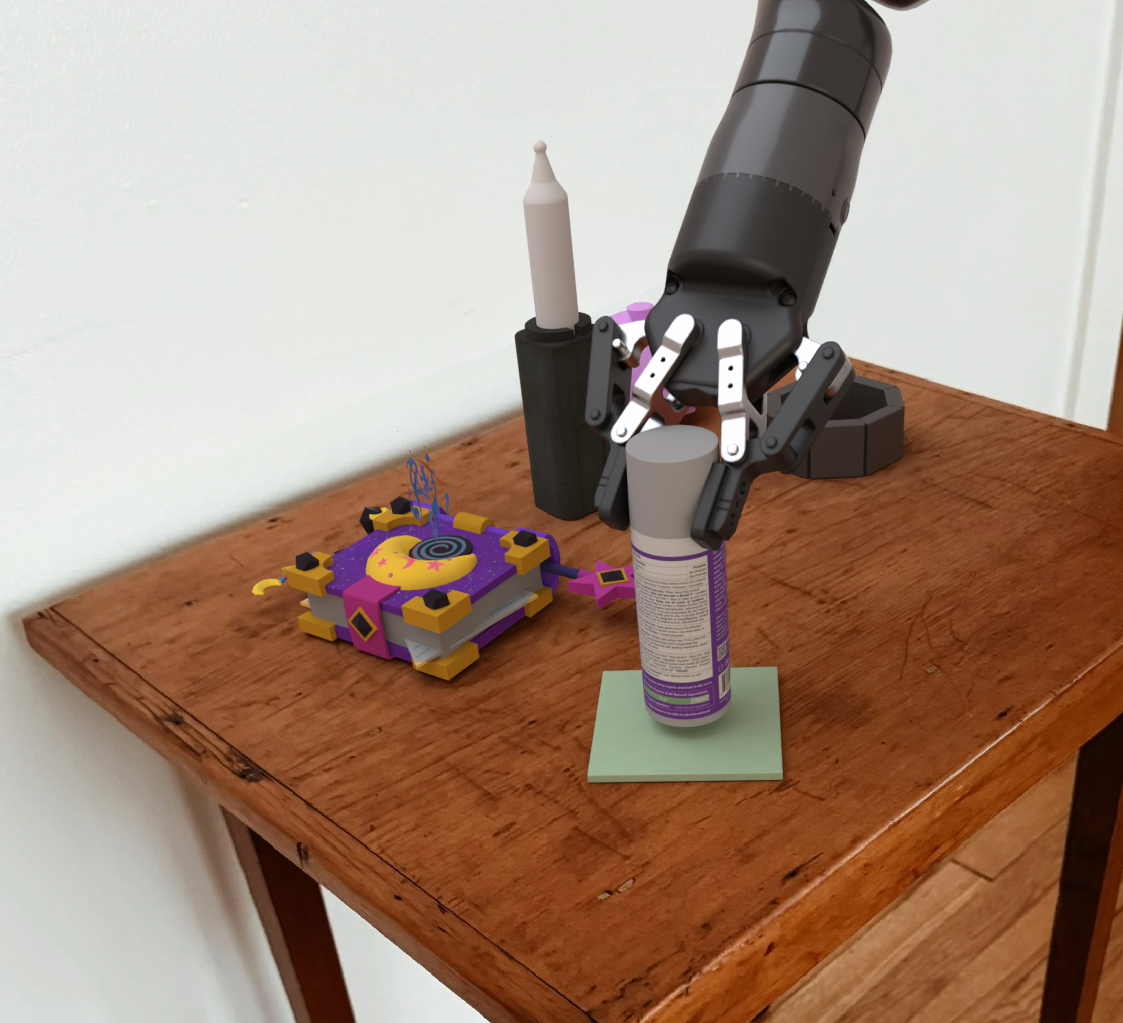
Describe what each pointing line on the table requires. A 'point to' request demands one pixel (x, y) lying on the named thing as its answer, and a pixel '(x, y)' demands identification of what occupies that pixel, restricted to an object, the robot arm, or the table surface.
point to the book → (436, 583)
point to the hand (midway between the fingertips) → (657, 533)
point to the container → (677, 578)
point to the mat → (687, 734)
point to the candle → (556, 358)
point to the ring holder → (853, 431)
